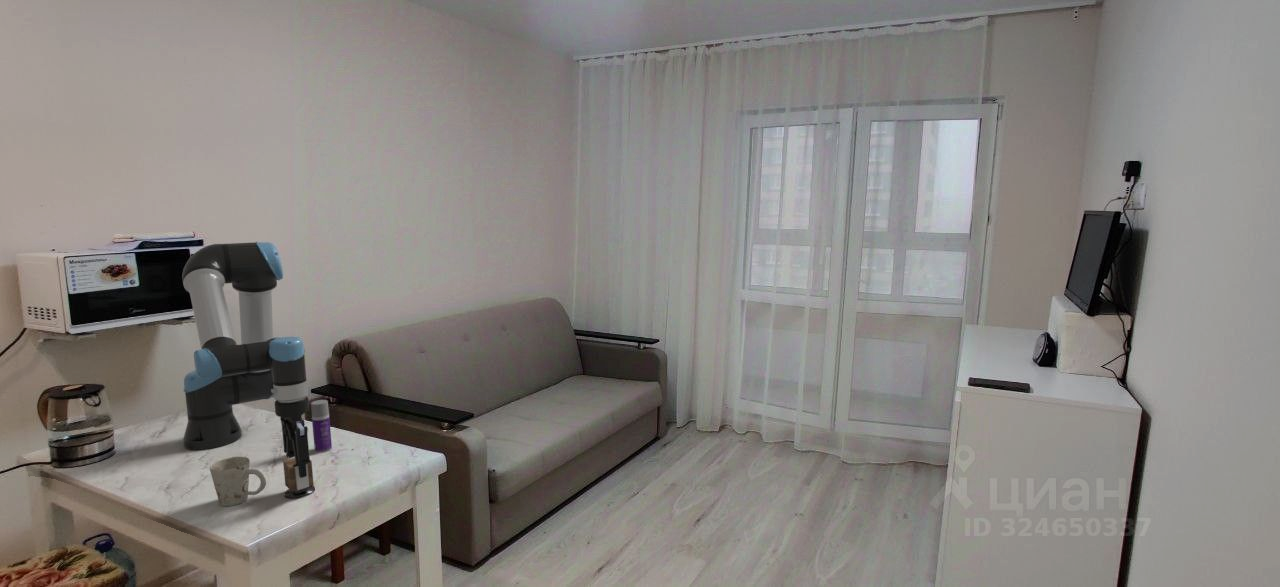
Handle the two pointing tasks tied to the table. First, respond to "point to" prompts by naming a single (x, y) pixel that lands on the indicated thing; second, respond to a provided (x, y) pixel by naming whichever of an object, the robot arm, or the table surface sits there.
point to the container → (321, 426)
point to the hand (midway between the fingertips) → (299, 484)
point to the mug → (234, 480)
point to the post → (299, 492)
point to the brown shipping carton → (290, 474)
